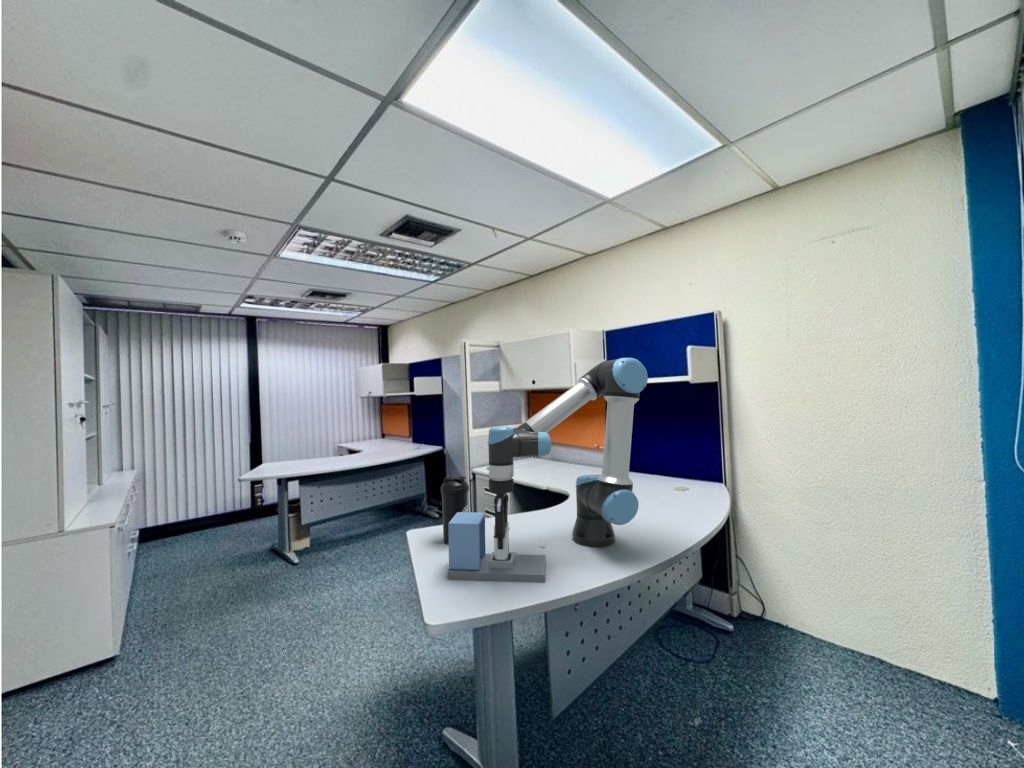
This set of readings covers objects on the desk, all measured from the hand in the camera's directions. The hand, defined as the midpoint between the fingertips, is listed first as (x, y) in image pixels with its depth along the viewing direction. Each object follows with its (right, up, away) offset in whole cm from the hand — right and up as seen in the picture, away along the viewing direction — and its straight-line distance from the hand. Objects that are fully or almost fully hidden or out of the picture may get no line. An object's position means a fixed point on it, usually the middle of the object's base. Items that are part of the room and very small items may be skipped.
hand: (501, 555), depth 120 cm
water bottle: (-18, -5, +25) cm, 31 cm away
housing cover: (-10, -2, +1) cm, 11 cm away
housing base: (-1, -4, 0) cm, 4 cm away
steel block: (0, -1, 0) cm, 1 cm away
